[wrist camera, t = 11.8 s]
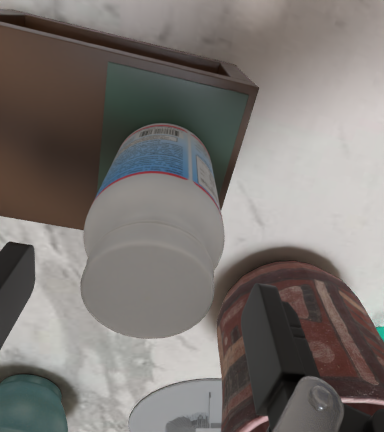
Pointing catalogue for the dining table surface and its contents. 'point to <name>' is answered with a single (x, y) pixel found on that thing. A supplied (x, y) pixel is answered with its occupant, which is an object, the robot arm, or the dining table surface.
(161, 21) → the dining table surface
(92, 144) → the stand
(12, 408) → the flower pot
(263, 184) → the dining table surface
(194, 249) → the pill bottle
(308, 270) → the pottery
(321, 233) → the dining table surface
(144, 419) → the plate
